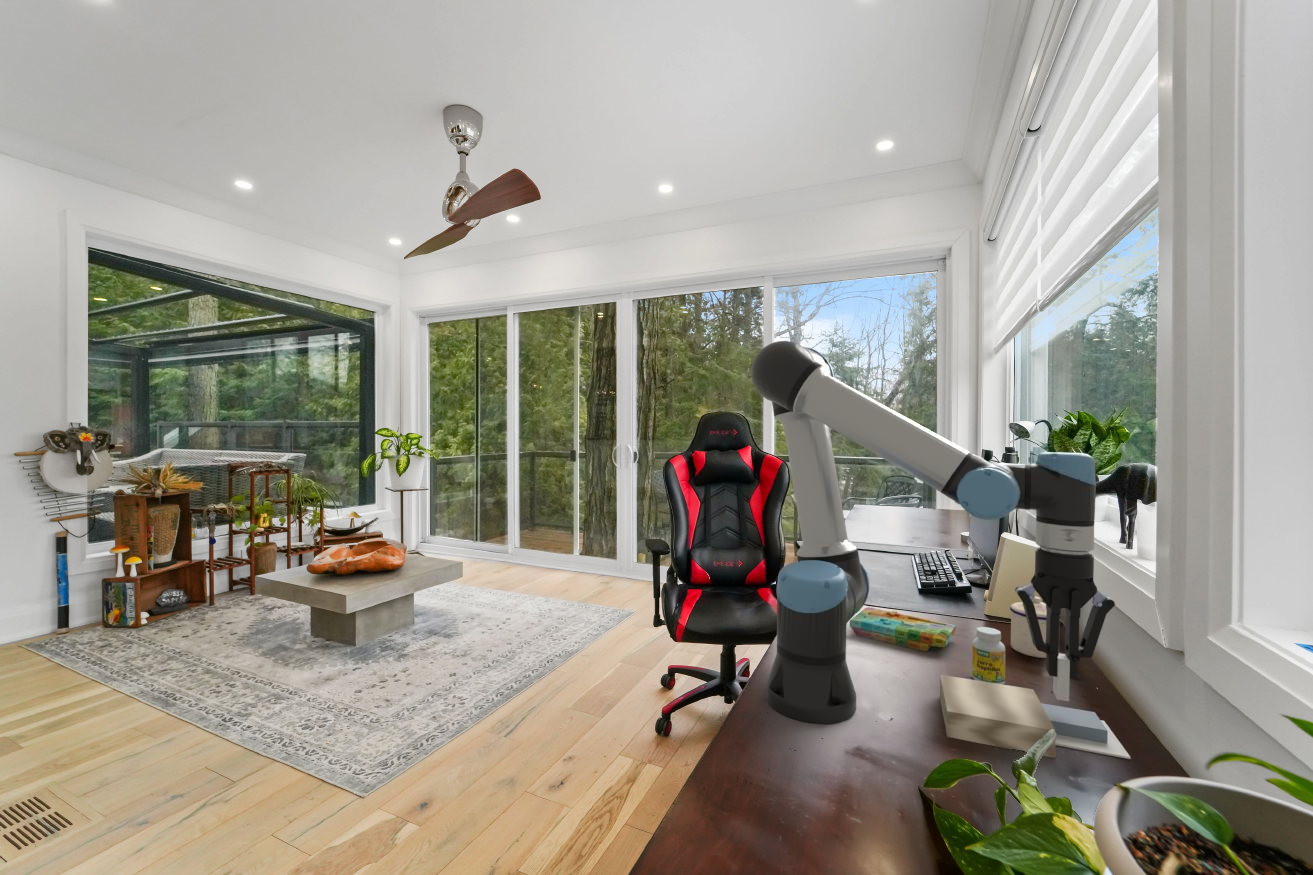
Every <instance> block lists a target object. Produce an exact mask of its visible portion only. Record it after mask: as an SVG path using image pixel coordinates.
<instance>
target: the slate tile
mask: <svg viewBox="0 0 1313 875" xmlns="http://www.w3.org/2000/svg"><path fill="white" fill-rule="evenodd" d="M1040 703H1041V705H1042V706H1043V708H1044V710H1045V712H1046V714H1047V716H1048V717H1049V719H1050V721H1051V723H1052V725H1053V727H1054V728H1055V730H1056V733H1057V735H1062V736H1068V737H1073V738H1079V739H1084V740H1090V741H1095V742H1100V743H1106V744H1107V742H1108V730H1107V729H1106V728H1105V726H1104V725H1103V723H1102V722H1101V721H1100V717H1099V716H1098V715H1097V713H1096V712H1095V711H1090V710H1084V709H1078V708H1077V709H1076V708H1072V707H1066V706H1060V705H1054V704H1047V703H1042V702H1040Z"/></svg>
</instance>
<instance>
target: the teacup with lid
mask: <svg viewBox="0 0 1313 875" xmlns="http://www.w3.org/2000/svg"><path fill="white" fill-rule="evenodd" d="M1034 596H1035V595H1034ZM1032 602H1033V604H1034V607H1035V610H1036V614H1037V618H1038V622H1039V626H1040V630H1041V633H1042V637H1043V641H1044V642H1045V643H1046V615H1047V610H1046V603H1045V602H1044V601H1042V598H1041V597H1040V596H1035V598H1034V599H1033V600H1032ZM1009 610H1010V611H1011V612H1010V614H1011V616H1010V647H1011V648H1012V649H1013V650H1014V651H1016V652H1017V653H1021V654H1023V655H1025V656H1030V657H1034V658H1040V659H1046V653H1044V652H1042V651H1038V650H1037V649H1036V647H1035V645H1034V644H1033V641H1032V637H1031V633H1030V630H1029V626H1028V622H1027V618H1026V614H1025V610H1024V606H1023V602H1022V601H1021V602H1020V601H1019V602H1014V603H1012V604H1011V605H1010V607H1009ZM1061 618H1062V615H1061V614H1060V619H1061ZM1059 623H1060V620H1059Z"/></svg>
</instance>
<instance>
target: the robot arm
mask: <svg viewBox="0 0 1313 875" xmlns="http://www.w3.org/2000/svg"><path fill="white" fill-rule="evenodd" d="M750 373H751V382H752V383H753V387H754V388H755V390H756V392H757V393H758V394H759V395H761V397H763V398H764V399H766V401H767V400H768V401H770V402H771V405H772V411H773V416H774V419H775V420H776V421H778V422H779V423H781V425H782V426H783V430H784V436H785V443H786V448H787V453H788V454H787V455H788V461H789V467H790V472H791V480H792V486H793V492H794V498H795V499H794V500H795V504H796V509H797V510H796V511H797V515H798V516H797V517H798V522H799V528H800V533H801V534H800V535H801V541H802V545H801V546H800V547H799V548H798V550H797V552H796V558H797V561H794V562H790V563H788V564H786V565H785V566H783V567H782V568H781V569H780V570H779V572H778V576H777V584H776V589H775V591H776V599H777V600H776V654H775V657H774V661H773V663H772V666H771V669H770V672H769V675H768V678H767V681H766V687H765V688H766V689H765V690H766V694H765V696H766V697H765V698H766V701H767V702H768V705H770V706H771V707H772V708H773V709H774V710H776V711H777V712H779V713H780V714H782V715H784V716H786V717H789V718H792V719H795V720H798V721H803V722H807V723H815V724H830V723H831V724H832V723H839V722H842V721H845V720H848V719H849V718H851V717H852V716H854V714H855V713H856V711H857V693H856V688H855V686H854V682H853V679H852V677H851V673H850V671H849V670H850V669H849V666H848V664H847V625H848V622H850V620H851V619H853V618H854V617H855V616H856V615H857V614H858V612H860V611H861V609H862V608H863V607H864V606H865V604H866V602H867V600H868V598H869V597H868V596H869V592H870V578H869V575H868V572H867V570H866V568H865V567H864V565H863V564H862V562H861V559H860V554H859V550H858V546H857V545H856V544H855V543H853V541H851V540H850V539H849V537H848V533H847V526H846V521H845V514H844V508H843V503H842V498H841V492H840V486H839V479H838V475H837V474H838V473H837V468H836V460H835V456H834V450H833V444H832V439H831V433H830V429H832V430H834V431H835V432H838V434H841V435H842V436H844V437H845V438H846V439H849V440H851V441H852V442H854V443H856V444H858V445H859V446H861V447H863V448H864V449H866V450H868V451H869V452H871V453H873V454H875V455H876V456H878V457H880V458H882V459H883V460H885V461H886V462H888V463H890V464H892V465H894V466H895V467H897V468H899V469H900V470H902V471H904V472H906V473H907V474H909V475H910V476H912V477H914V478H915V479H918V480H919V481H920V482H923V483H924V484H926V485H928V486H929V487H931V488H932V489H934V490H936V491H937V492H939V493H941V494H943V495H944V496H946V497H947V498H949V499H951V500H952V501H954V503H955V504H957V505H960V506H961V507H962V509H964V511H965V512H966V513H968V514H969V515H971V516H972V517H975V518H977V519H980V520H985V521H986V520H987V521H992V520H993V521H995V520H999V519H1002V518H1004V517H1006V516H1008V514H1011V512H1013V511H1014V510H1028V511H1030V510H1032V511H1035V514H1036V516H1035V544H1036V545H1037V546H1038V547H1037V548H1036V549H1035V554H1034V574H1033V576H1032V577H1031V580H1030V583H1029V584H1027V585H1025V586H1017V587H1015V589H1014V591H1015V593H1016V594H1017V596H1018V597H1019V599H1020V600H1021V602H1023V606H1024V610H1025V614H1026V618H1027V622H1028V626H1029V630H1030V633H1031V637H1032V641H1033V644H1034V645H1035V647H1036V649H1037V650H1038V651H1042V652H1044V653H1046V658H1045V660H1046V661H1045V662H1046V665H1045V669H1046V673H1048V676H1049V677H1053V679H1052V680H1053V681H1052V682H1053V685H1052V692H1053V695H1054V696H1055V698H1056V700H1058V701H1064V702H1070V680H1077V678H1078V662H1080V660H1081V659H1083V658H1087V659H1091V658H1092V657H1093V655H1094V654H1095V653H1094V652H1095V650H1096V646H1097V643H1098V640H1099V638H1100V635H1101V631H1102V629H1103V627H1104V624H1105V620H1106V616H1107V614H1108V613H1110V611H1111V610H1112V609H1113V608H1114V607H1115V605H1116V603H1115V601H1114V600H1113V599H1112V598H1110V597H1109V596H1108V595H1104V594H1102V593H1101V592H1099V591H1098V587H1097V586H1096V584H1095V581H1094V578H1095V577H1094V570H1095V566H1094V565H1095V556H1094V555H1093V554H1092V553H1091V552H1092V551H1094V550H1095V517H1096V516H1095V514H1096V494H1097V493H1096V491H1097V490H1096V488H1097V482H1096V462H1095V459H1094V458H1093V456H1091V455H1090V454H1088V453H1081V452H1062V451H1061V452H1059V451H1057V452H1050V451H1046V452H1045V451H1044V452H1043V451H1042V452H1040V453H1038V455H1037V456H1036V457H1037V458H1036V460H1035V463H1008V462H1007V463H1006V462H990V461H987V460H985V459H983V458H982V457H980V456H978V455H976V454H973V452H970V451H969V450H967V449H965V448H963V447H962V446H960V445H957V444H956V443H954V442H952V441H950V440H948V439H947V438H944V437H943V436H941V435H939V434H937V433H935V432H934V431H931V429H929V428H927V427H924V426H922V425H921V424H919V423H918V422H915V421H913V420H912V419H910V418H908V417H907V416H905V415H903V414H901V413H899V412H898V411H896V410H893V409H891V408H889V407H888V406H886V405H884V404H882V403H881V402H879V401H876V400H875V399H873V398H872V397H869V396H868V395H866V394H865V393H862V392H860V391H858V390H857V389H855V388H853V387H851V386H849V385H847V384H845V383H844V382H842V381H840V380H838V379H836V378H835V374H834V369H833V367H832V365H831V363H830V362H829V360H828V359H827V358H826V357H825V356H824V355H823V354H821V352H819V351H817V350H816V349H813V348H810V347H806V346H802V345H801V344H798V343H796V342H794V341H789V340H779V341H778V340H777V341H774V342H772V343H769V344H767V345H765V346H764V347H763V348H761V350H760V351H759V352H758V353H757V354H756V356H755V357H754V360H753V362H752V364H751V370H750ZM1035 592H1036V593H1037V594H1038V595H1039V598H1040V599H1041V600H1042V602H1043V603H1045V604H1046V610H1047V615H1046V643H1045V642H1044V641H1043V637H1042V633H1041V630H1040V626H1039V622H1038V618H1037V614H1036V610H1035V607H1034V604H1033V602H1032V600H1033V599H1034V598H1035ZM1090 600H1091V602H1092V606H1091V609H1090V611H1089V614H1088V618H1087V621H1086V623H1085V627H1084V630H1083V633H1082V635H1081V639H1080V619H1081V611H1082V610H1081V609H1082V608H1083V607H1085V605H1086V604H1088V602H1089V601H1090ZM1061 609H1064V611H1065V626H1064V627H1065V628H1064V629H1065V630H1064V631H1065V633H1064V635H1065V636H1064V638H1065V639H1064V651H1065V653H1060V622H1059V620H1060V619H1061V618H1060V615H1061V611H1062V610H1061Z"/></svg>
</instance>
